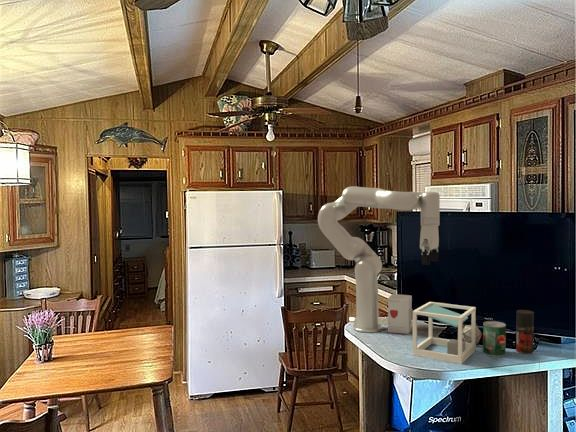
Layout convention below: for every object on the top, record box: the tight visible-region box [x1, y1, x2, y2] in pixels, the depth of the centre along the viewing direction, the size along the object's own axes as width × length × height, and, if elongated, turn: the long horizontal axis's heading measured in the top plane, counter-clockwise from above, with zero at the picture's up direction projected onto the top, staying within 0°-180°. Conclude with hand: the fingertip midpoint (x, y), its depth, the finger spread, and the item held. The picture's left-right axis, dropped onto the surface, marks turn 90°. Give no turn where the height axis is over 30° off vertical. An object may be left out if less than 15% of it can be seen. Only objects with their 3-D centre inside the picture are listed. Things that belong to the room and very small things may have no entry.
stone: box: [446, 338, 465, 355], centre depth 189 cm, size 5×5×5 cm
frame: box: [412, 301, 477, 365], centre depth 191 cm, size 18×18×16 cm
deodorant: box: [515, 309, 535, 355], centre depth 191 cm, size 6×6×15 cm
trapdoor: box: [421, 304, 469, 328], centre depth 191 cm, size 14×14×1 cm
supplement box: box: [387, 293, 413, 335], centre depth 221 cm, size 9×9×15 cm
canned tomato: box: [482, 320, 507, 357], centre depth 190 cm, size 8×8×11 cm
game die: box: [462, 322, 483, 346], centre depth 201 cm, size 9×8×10 cm
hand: (430, 263), depth 213 cm, fingers open, 9 cm apart
